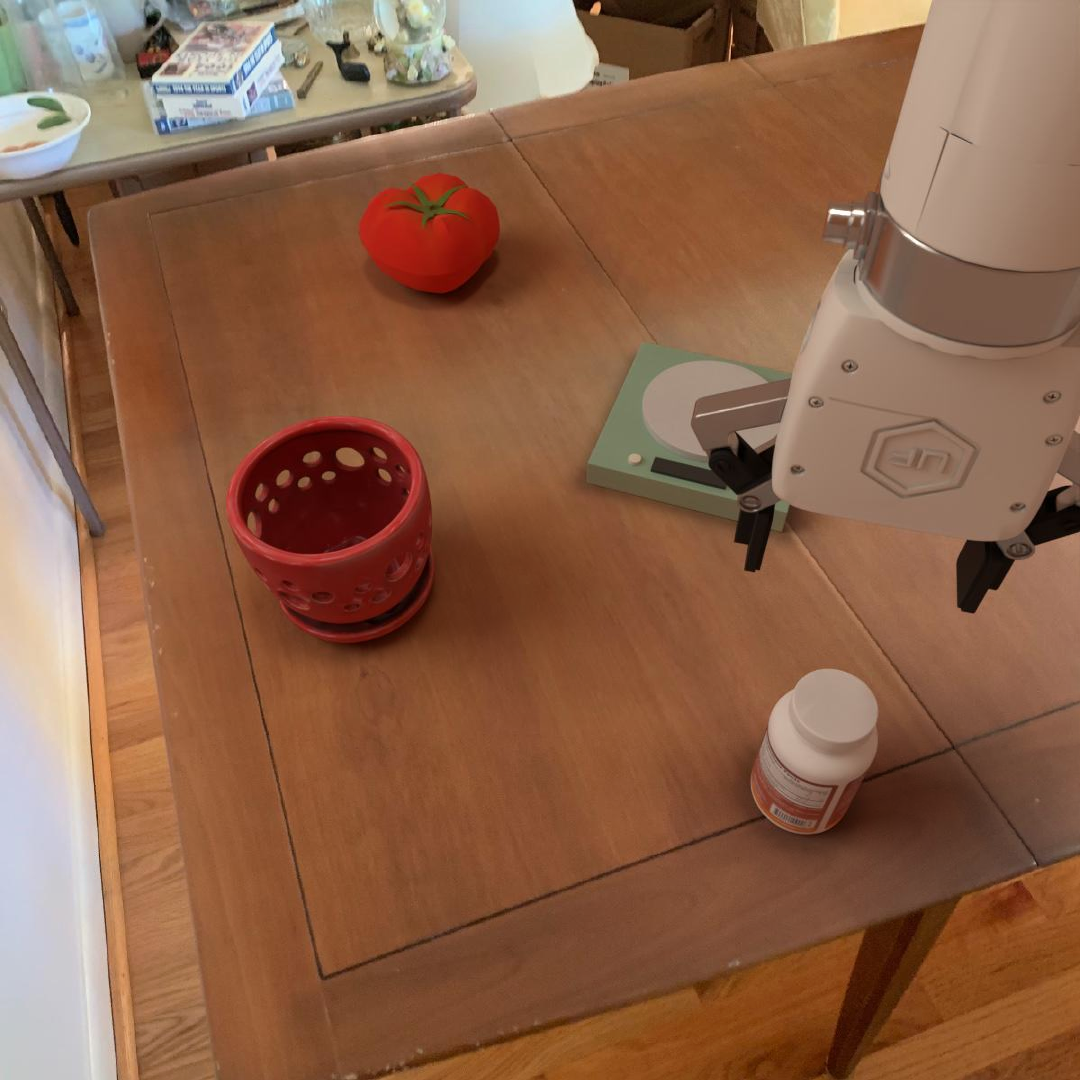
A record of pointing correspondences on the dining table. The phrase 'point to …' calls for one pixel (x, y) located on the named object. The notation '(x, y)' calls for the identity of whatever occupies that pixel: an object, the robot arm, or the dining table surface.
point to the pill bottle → (815, 751)
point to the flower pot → (337, 527)
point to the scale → (674, 431)
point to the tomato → (430, 232)
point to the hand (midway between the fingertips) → (857, 568)
